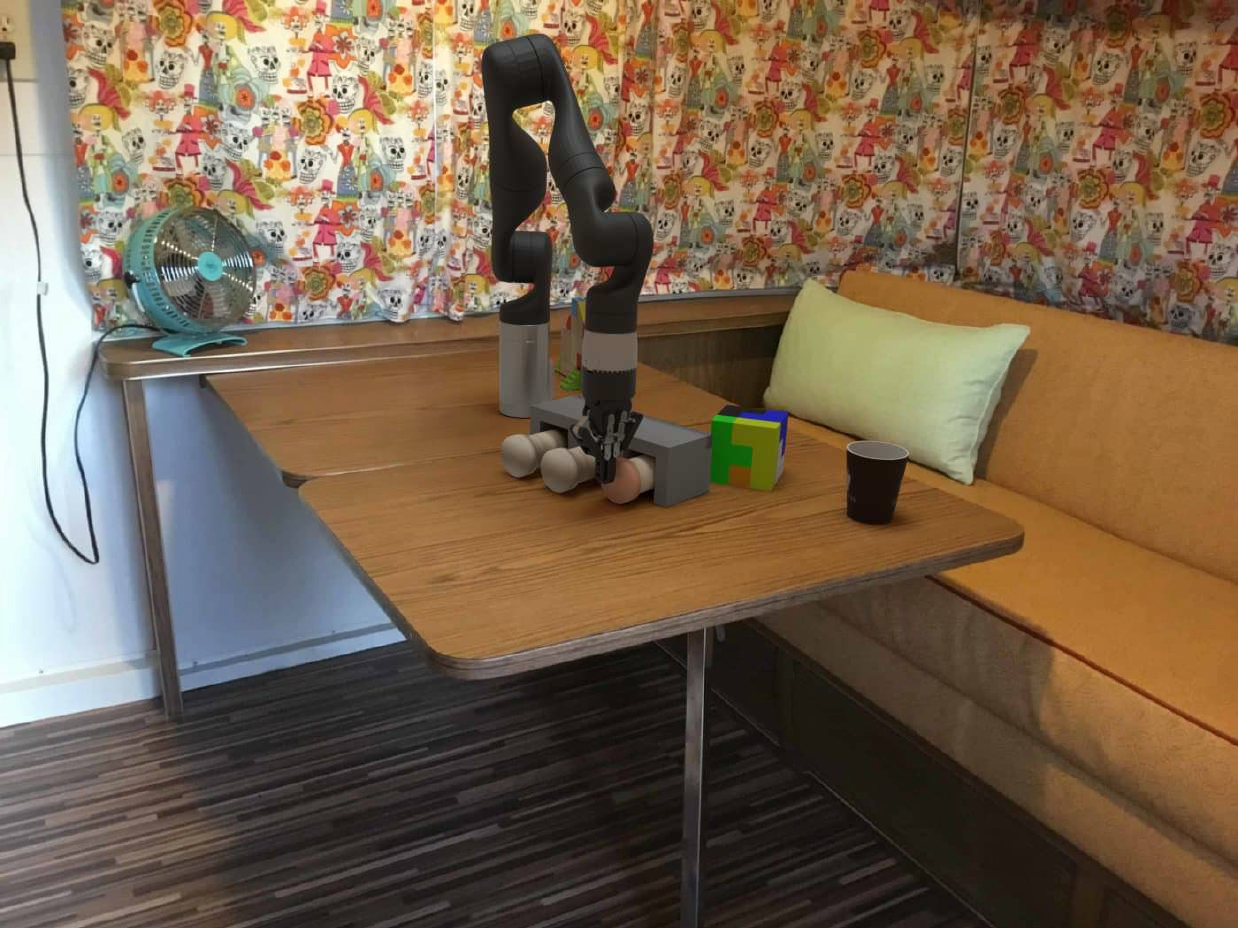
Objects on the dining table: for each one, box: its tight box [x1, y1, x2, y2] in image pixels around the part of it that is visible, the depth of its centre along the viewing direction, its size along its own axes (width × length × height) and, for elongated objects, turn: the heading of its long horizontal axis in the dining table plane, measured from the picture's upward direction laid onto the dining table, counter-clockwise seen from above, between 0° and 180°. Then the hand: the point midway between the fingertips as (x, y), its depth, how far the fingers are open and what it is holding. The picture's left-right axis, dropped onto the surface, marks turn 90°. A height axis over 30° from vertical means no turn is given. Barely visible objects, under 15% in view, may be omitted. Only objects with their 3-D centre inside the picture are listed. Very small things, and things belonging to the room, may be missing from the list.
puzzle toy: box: [710, 404, 789, 492], centre depth 160 cm, size 10×10×10 cm
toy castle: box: [554, 296, 586, 391], centre depth 211 cm, size 28×14×19 cm, turn 21°
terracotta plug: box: [600, 454, 656, 505], centre depth 150 cm, size 10×6×6 cm, turn 137°
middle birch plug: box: [540, 444, 602, 494], centre depth 153 cm, size 10×6×6 cm, turn 137°
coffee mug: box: [845, 440, 910, 526], centre depth 146 cm, size 12×9×10 cm
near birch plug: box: [500, 428, 568, 478], centre depth 159 cm, size 10×6×6 cm, turn 137°
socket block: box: [529, 395, 713, 508], centre depth 158 cm, size 10×29×9 cm, turn 47°
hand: (604, 482), depth 144 cm, fingers closed
